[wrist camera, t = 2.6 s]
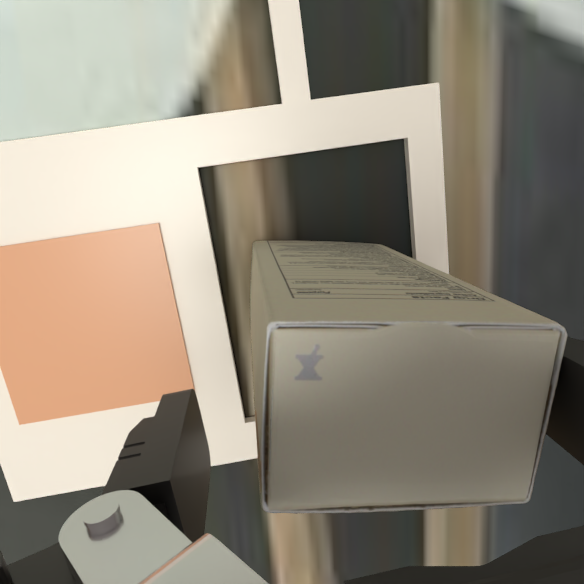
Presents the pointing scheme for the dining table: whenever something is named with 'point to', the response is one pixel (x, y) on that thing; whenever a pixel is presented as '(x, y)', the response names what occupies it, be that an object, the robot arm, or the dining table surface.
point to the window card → (158, 265)
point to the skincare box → (392, 383)
